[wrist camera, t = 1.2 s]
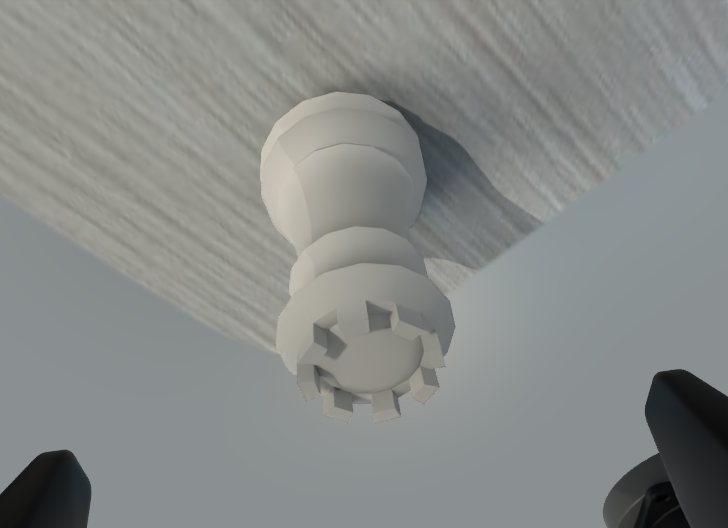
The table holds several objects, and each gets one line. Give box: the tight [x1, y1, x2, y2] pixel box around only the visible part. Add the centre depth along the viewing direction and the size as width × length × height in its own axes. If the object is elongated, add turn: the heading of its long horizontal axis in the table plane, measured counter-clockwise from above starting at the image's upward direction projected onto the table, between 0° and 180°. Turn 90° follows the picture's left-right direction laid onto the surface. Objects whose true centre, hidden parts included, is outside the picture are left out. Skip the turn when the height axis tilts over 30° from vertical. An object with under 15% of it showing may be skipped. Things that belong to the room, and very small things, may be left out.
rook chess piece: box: [260, 92, 455, 423], centre depth 13 cm, size 4×4×8 cm
